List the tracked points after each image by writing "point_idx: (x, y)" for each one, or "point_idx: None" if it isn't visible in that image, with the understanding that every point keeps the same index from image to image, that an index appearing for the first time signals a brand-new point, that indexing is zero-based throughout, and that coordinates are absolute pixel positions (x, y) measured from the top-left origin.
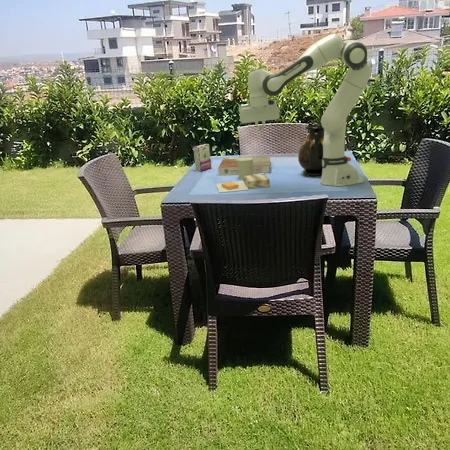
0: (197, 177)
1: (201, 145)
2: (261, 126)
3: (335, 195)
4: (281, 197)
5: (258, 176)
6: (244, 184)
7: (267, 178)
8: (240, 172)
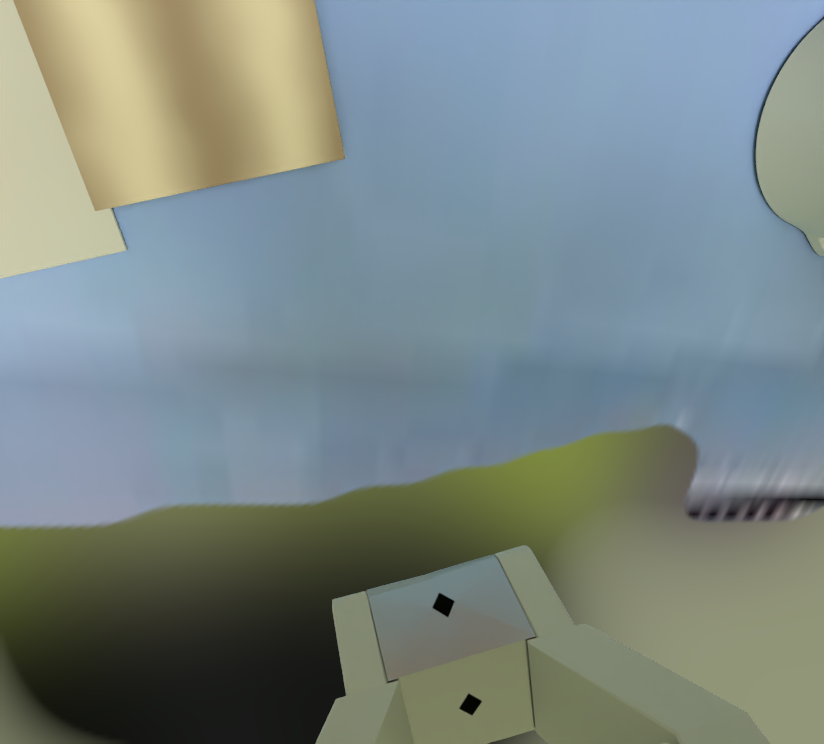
0: None
1: None
2: (511, 686)
3: (720, 445)
4: (414, 473)
5: None
6: None
7: (323, 108)
8: None
